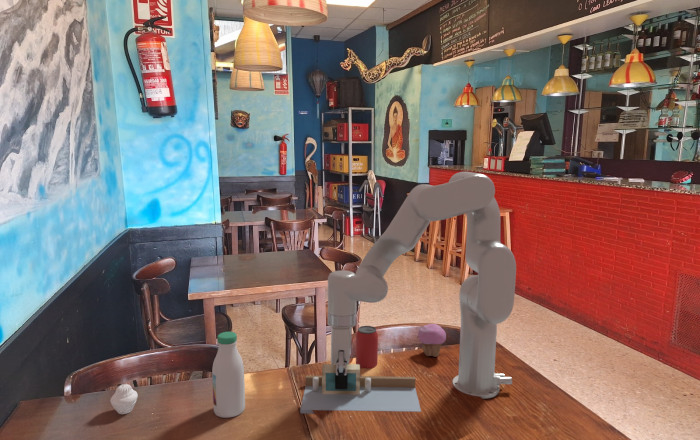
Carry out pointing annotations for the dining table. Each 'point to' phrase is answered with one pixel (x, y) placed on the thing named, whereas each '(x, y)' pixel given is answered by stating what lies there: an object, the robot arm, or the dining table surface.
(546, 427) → the dining table surface
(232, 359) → the milk bottle
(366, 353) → the beer can
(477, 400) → the dining table surface
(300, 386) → the dining table surface
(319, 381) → the ledge
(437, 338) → the cupcake
